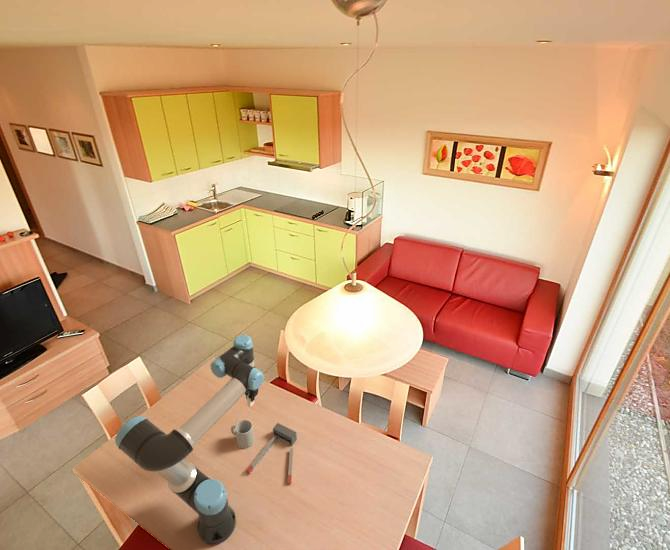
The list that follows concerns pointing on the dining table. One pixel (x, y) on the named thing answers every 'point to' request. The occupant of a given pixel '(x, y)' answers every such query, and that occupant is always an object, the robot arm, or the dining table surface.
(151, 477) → the dining table surface
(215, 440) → the dining table surface
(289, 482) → the red-tipped stick
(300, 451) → the dining table surface
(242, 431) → the mug
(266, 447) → the base
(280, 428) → the grey rectangular block
